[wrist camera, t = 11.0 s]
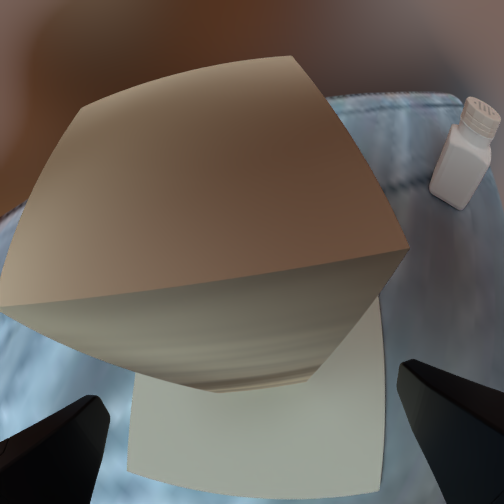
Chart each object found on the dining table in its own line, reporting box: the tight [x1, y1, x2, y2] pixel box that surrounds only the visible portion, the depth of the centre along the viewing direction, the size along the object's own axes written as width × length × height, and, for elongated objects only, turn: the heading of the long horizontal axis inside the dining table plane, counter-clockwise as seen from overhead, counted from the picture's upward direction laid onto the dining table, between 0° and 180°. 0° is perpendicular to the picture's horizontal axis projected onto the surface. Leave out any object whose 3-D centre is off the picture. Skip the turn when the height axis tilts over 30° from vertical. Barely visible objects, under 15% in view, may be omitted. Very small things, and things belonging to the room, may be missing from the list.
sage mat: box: [127, 296, 385, 499], centre depth 15 cm, size 15×15×1 cm
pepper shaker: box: [429, 97, 501, 210], centre depth 17 cm, size 4×4×10 cm
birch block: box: [0, 56, 410, 393], centre depth 10 cm, size 5×5×14 cm
